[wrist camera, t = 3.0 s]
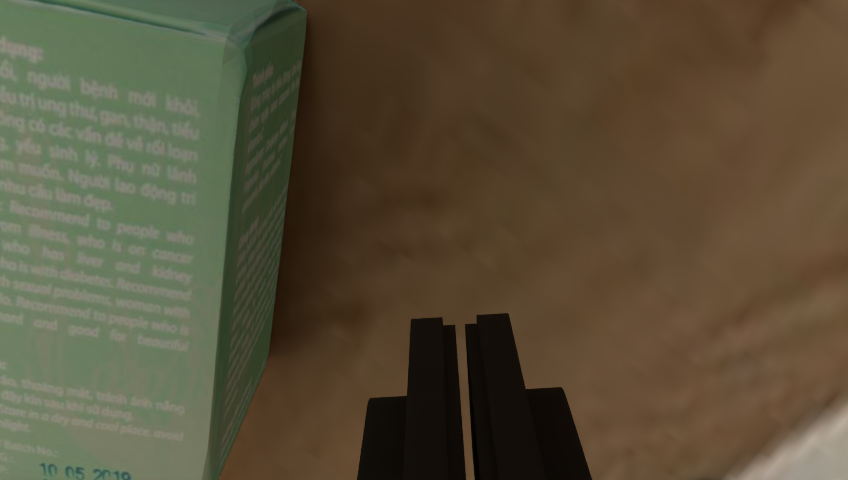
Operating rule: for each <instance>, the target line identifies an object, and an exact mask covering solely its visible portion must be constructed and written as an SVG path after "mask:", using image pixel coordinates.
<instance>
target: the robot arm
mask: <svg viewBox="0 0 848 480" xmlns="http://www.w3.org/2000/svg"><path fill="white" fill-rule="evenodd" d="M465 333H466V350H467V367H468V384H469V402H470V419H471V436H472V452H473V464H474V476H475V480H592V478H591V475H590V472H589V468H588V465H587V462H586V459H585V456H584V452H583V449H582V446H581V443H580V440H579V436H578V433H577V430H576V427H575V424H574V421H573V417H572V414H571V411H570V408H569V405H568V401H567V398H566V395H565V393H564V390H563V389H562V388H561V387H556V388H538V389H525V384H524V380H523V375H522V371H521V366H520V362H519V358H518V353H517V349H516V344H515V340H514V335H513V331H512V326H511V322H510V318H509V314H508V313H503V314H486V315H477V323H476V324H465ZM357 480H466V473H465V459H464V444H463V430H462V416H461V402H460V388H459V374H458V359H457V345H456V331H455V325H444V326H443V319H442V317H438V318H422V319H411V329H410V349H409V368H408V388H407V396H398V397H380V398H370V399H369V401H368V406H367V412H366V419H365V427H364V434H363V441H362V448H361V455H360V462H359V470H358V477H357Z"/></svg>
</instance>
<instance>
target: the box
mask: <svg viewBox="0 0 848 480" xmlns="http://www.w3.org/2000/svg"><path fill="white" fill-rule="evenodd" d="M306 22H307V10H306V9H304V8H303V7H301V6H300V5H298V4H297V3H295V2H294V1H292V0H0V480H218V479H219V476H220V474H221V472H222V469H223V467H224V464H225V462H226V460H227V457H228V455H229V453H230V450H231V448H232V445H233V443H234V441H235V438H236V436H237V434H238V431H239V429H240V426H241V424H242V422H243V419H244V417H245V415H246V412H247V410H248V407H249V405H250V403H251V400H252V398H253V396H254V393H255V391H256V388H257V386H258V384H259V381H260V379H261V377H262V374H263V372H264V370H265V366H266V362H267V357H268V353H269V346H270V338H271V329H272V321H273V312H274V304H275V295H276V287H277V278H278V270H279V263H280V255H281V246H282V237H283V228H284V219H285V210H286V202H287V194H288V185H289V177H290V169H291V160H292V151H293V141H294V132H295V123H296V113H297V104H298V96H299V87H300V79H301V70H302V61H303V53H304V44H305V35H306Z"/></svg>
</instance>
